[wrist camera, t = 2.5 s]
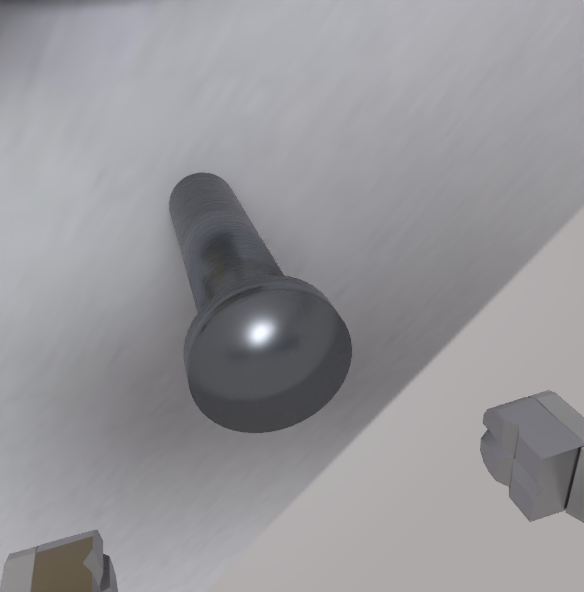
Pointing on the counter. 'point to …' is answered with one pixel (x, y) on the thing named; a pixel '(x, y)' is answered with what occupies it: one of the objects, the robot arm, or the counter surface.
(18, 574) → the robot arm
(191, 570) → the counter surface
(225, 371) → the hinge pin
